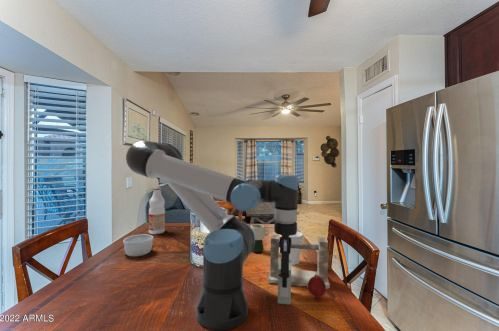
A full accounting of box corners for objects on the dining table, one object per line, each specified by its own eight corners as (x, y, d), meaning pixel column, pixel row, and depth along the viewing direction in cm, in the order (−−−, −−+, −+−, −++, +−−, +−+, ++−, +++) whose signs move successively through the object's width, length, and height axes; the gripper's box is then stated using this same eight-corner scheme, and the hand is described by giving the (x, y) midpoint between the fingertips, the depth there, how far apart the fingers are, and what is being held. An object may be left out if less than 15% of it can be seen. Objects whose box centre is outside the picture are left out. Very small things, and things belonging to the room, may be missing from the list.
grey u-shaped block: (277, 303, 76) (278, 269, 76) (278, 290, 84) (279, 259, 84) (290, 304, 76) (291, 270, 75) (290, 291, 83) (290, 259, 83)
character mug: (268, 249, 124) (268, 224, 123) (268, 254, 116) (268, 227, 116) (247, 248, 124) (247, 223, 124) (245, 253, 117) (246, 227, 117)
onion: (312, 291, 84) (312, 268, 84) (328, 297, 80) (328, 273, 80) (304, 298, 79) (305, 274, 79) (321, 305, 75) (321, 280, 75)
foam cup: (278, 263, 106) (278, 234, 106) (285, 256, 114) (285, 229, 114) (299, 268, 102) (299, 238, 101) (304, 260, 110) (305, 232, 110)
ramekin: (131, 260, 107) (131, 244, 107) (117, 253, 115) (118, 238, 115) (158, 251, 118) (158, 237, 118) (144, 245, 126) (144, 232, 126)
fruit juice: (160, 234, 144) (160, 188, 144) (145, 234, 145) (146, 188, 145) (167, 230, 154) (167, 187, 153) (153, 229, 155) (153, 186, 154)
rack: (268, 283, 89) (269, 240, 88) (270, 271, 98) (270, 232, 98) (329, 289, 85) (330, 244, 85) (325, 276, 95) (326, 236, 95)
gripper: (298, 230, 69) (297, 308, 69) (296, 214, 89) (294, 275, 89) (272, 228, 70) (271, 306, 70) (275, 213, 90) (274, 273, 91)
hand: (284, 288), depth 80 cm, fingers closed on grey u-shaped block, 8 cm apart
